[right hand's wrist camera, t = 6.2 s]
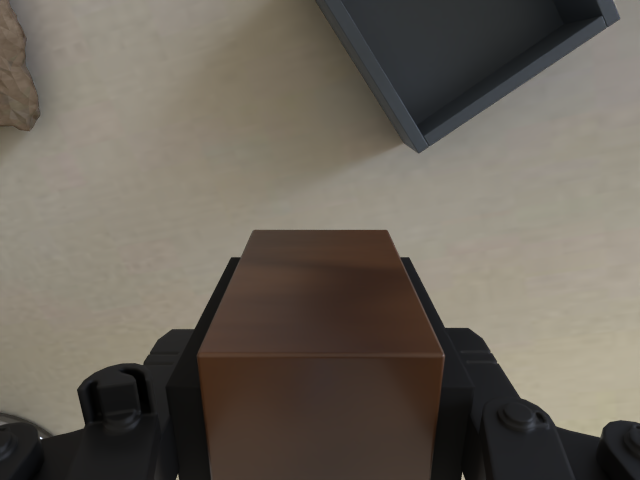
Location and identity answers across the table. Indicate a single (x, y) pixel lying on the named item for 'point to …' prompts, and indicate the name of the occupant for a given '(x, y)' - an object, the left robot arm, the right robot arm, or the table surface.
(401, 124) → the slate tray
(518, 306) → the table surface
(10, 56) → the stone
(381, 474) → the walnut block
